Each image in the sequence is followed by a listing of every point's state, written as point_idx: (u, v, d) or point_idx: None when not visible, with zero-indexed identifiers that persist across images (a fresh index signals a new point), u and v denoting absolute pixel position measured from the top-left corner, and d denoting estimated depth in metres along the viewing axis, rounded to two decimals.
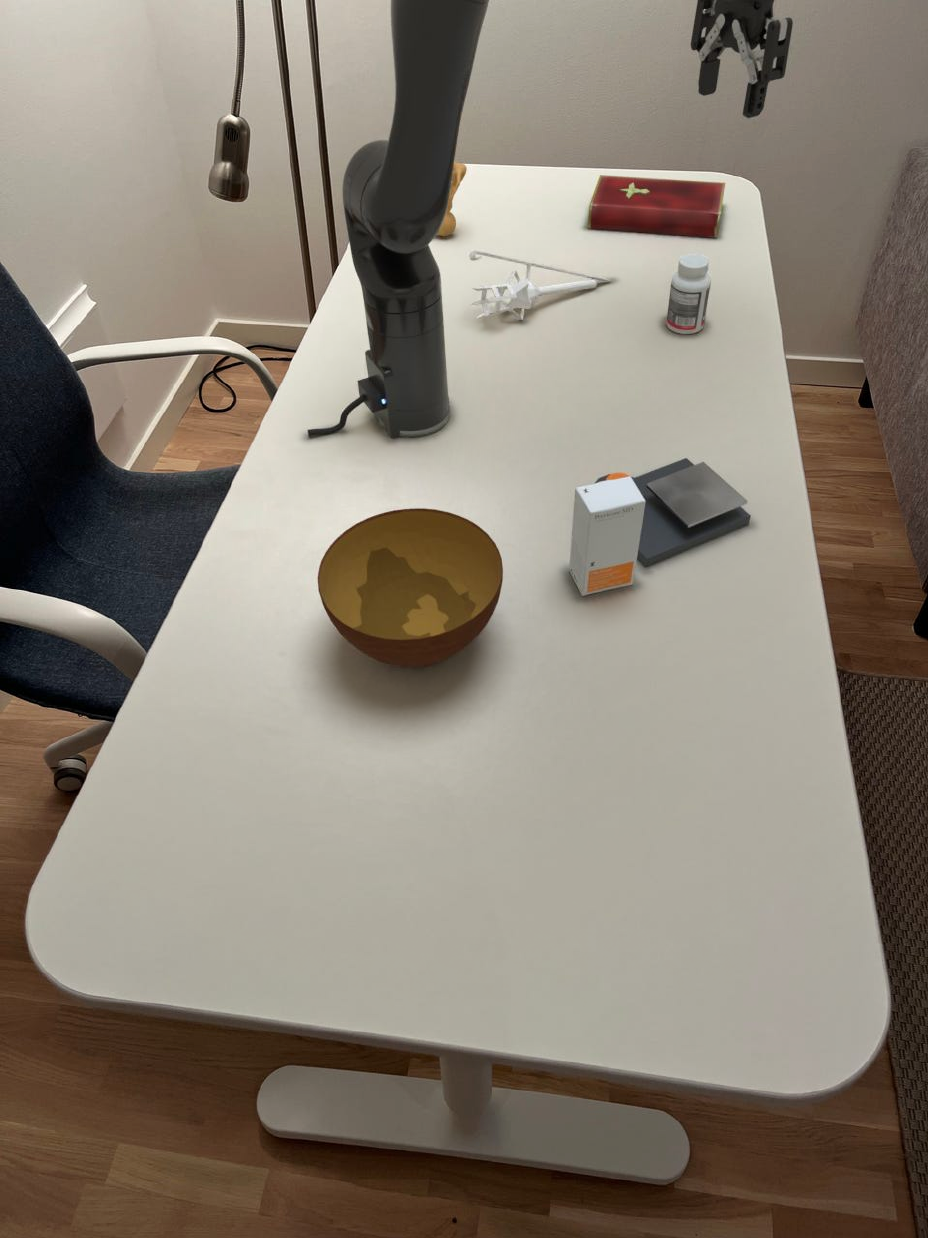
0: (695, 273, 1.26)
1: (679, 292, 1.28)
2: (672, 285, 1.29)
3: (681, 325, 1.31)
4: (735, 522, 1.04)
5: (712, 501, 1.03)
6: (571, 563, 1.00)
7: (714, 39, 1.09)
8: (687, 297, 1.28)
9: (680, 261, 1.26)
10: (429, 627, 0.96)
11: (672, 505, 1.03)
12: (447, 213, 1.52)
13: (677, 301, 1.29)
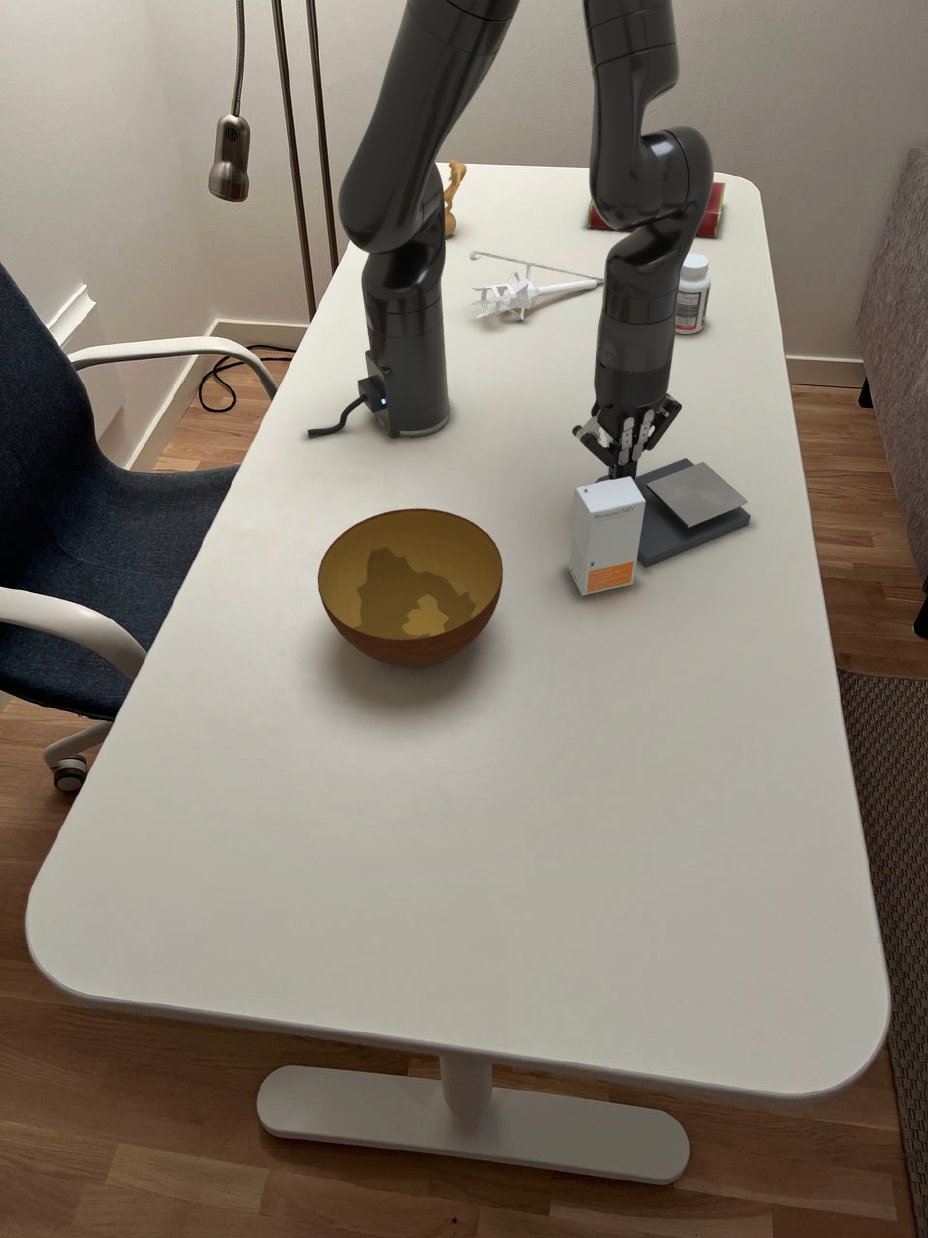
0: (695, 273, 1.26)
1: (679, 292, 1.28)
2: None
3: (681, 325, 1.31)
4: (735, 522, 1.04)
5: (712, 501, 1.03)
6: (571, 563, 1.00)
7: None
8: (687, 297, 1.28)
9: None
10: (429, 627, 0.96)
11: (672, 505, 1.03)
12: (447, 213, 1.52)
13: (677, 301, 1.29)
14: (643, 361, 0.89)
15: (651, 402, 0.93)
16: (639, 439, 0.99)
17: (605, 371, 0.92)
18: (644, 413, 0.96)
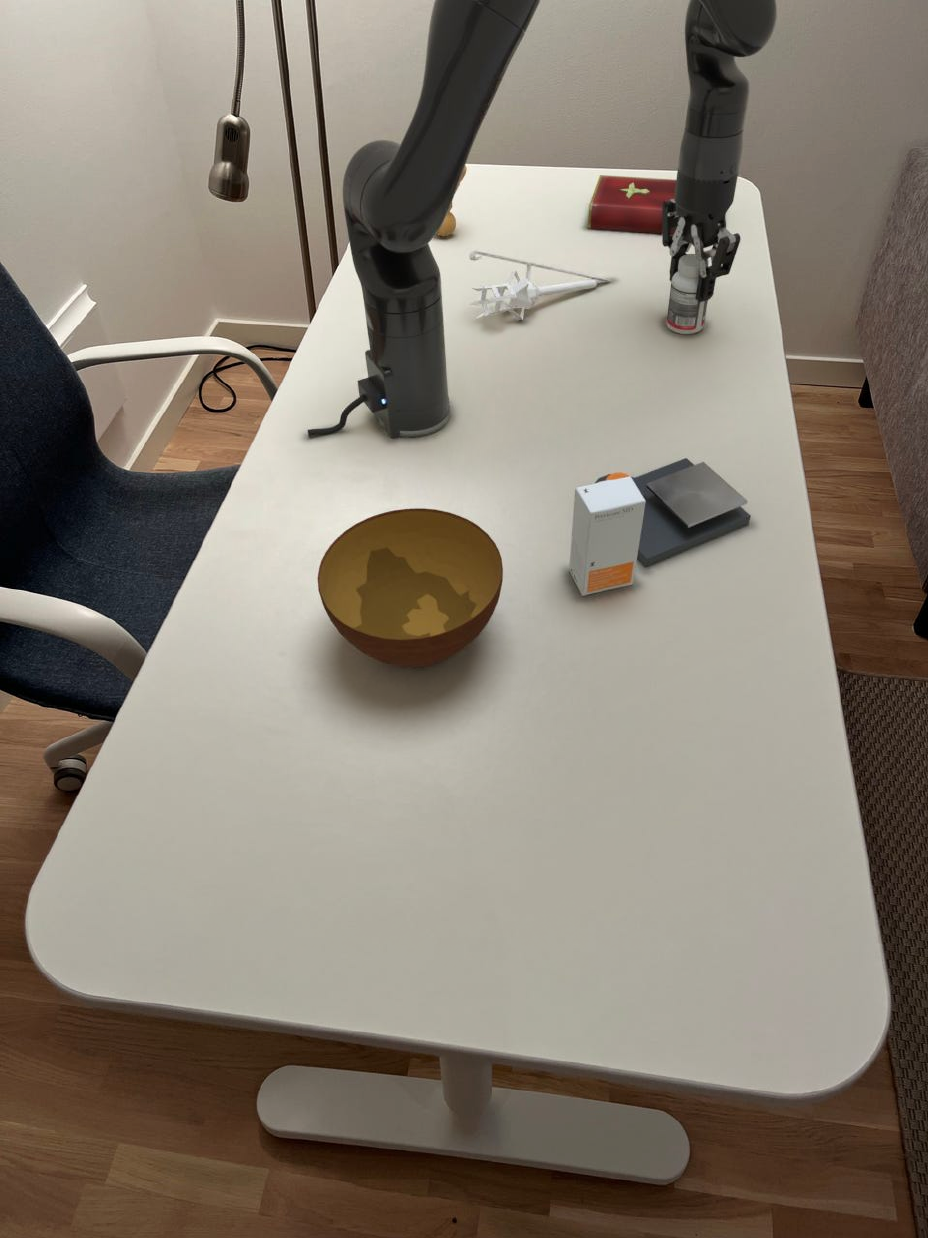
0: (695, 273, 1.26)
1: (679, 292, 1.28)
2: (672, 285, 1.29)
3: (681, 325, 1.31)
4: (735, 522, 1.04)
5: (712, 501, 1.03)
6: (571, 563, 1.00)
7: (679, 238, 1.25)
8: (687, 297, 1.28)
9: (680, 261, 1.26)
10: (429, 627, 0.96)
11: (672, 505, 1.03)
12: (447, 213, 1.52)
13: (677, 301, 1.29)
14: None
15: None
16: None
17: (729, 183, 1.16)
18: None
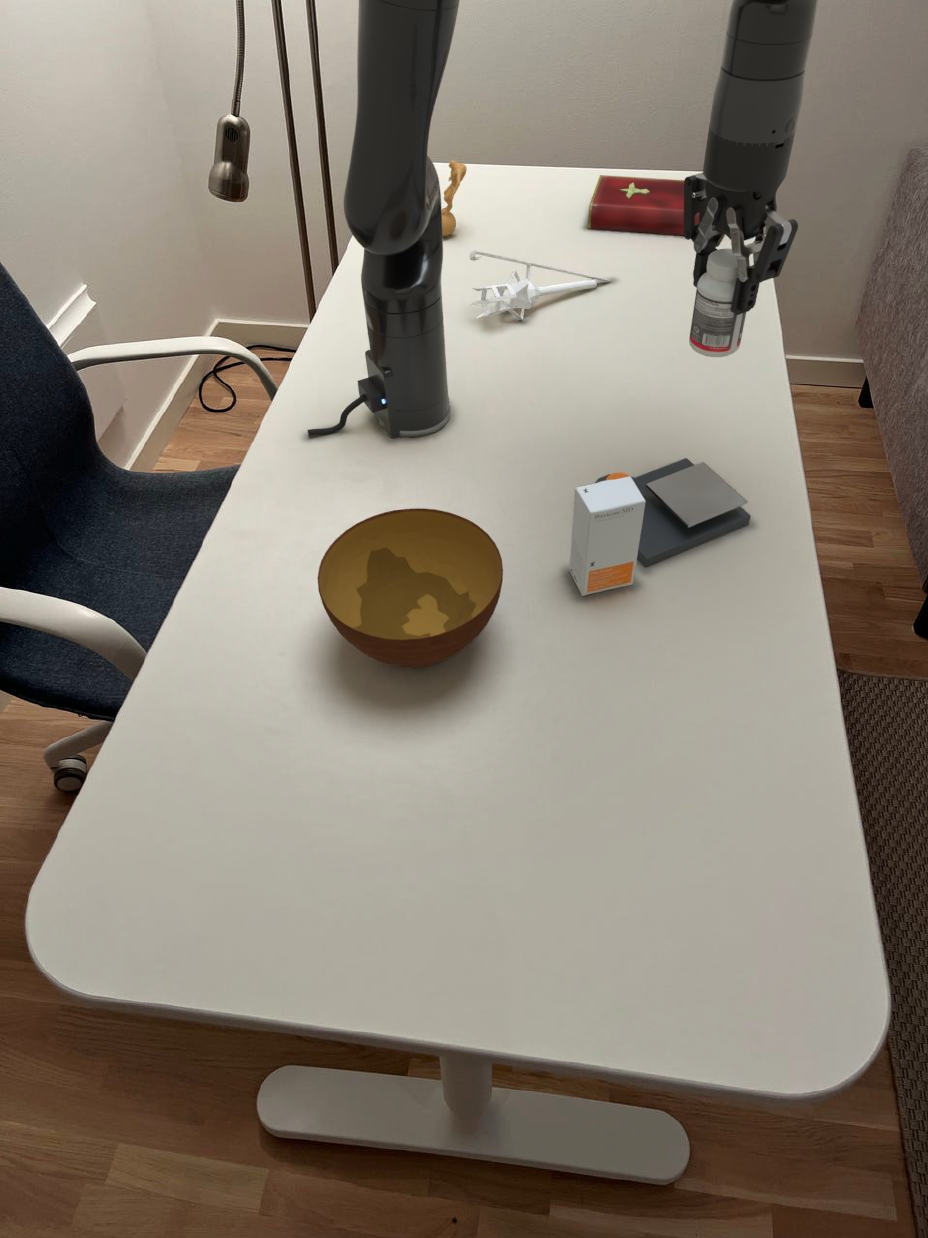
0: (732, 275, 0.91)
1: (708, 301, 0.94)
2: (698, 292, 0.94)
3: (710, 345, 0.97)
4: (735, 522, 1.04)
5: (712, 501, 1.03)
6: (571, 563, 1.00)
7: (709, 227, 0.90)
8: (720, 308, 0.93)
9: (710, 259, 0.92)
10: (429, 627, 0.96)
11: (672, 505, 1.03)
12: (447, 213, 1.52)
13: (706, 314, 0.95)
14: None
15: None
16: None
17: (783, 148, 0.82)
18: None
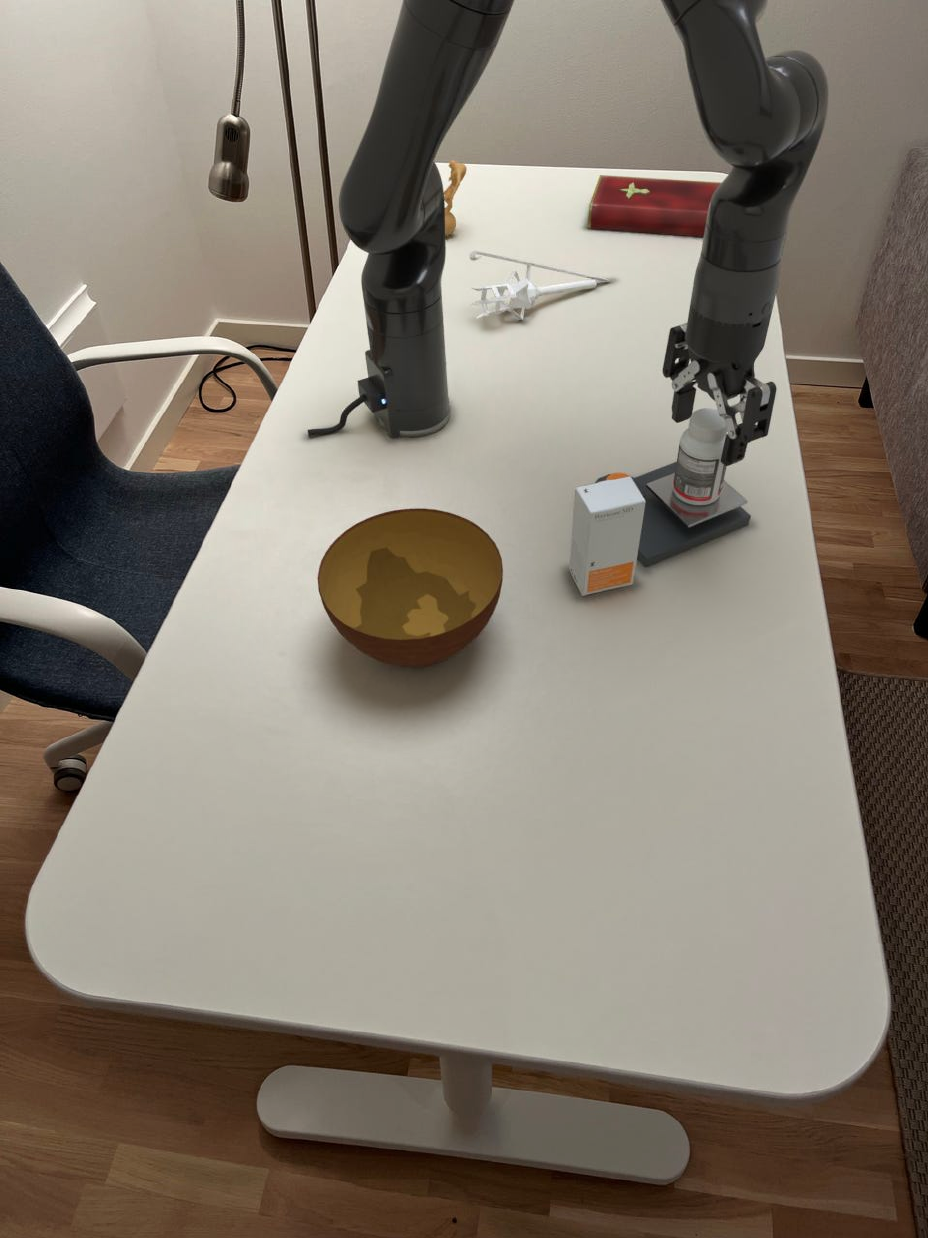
0: (712, 437, 0.96)
1: (689, 458, 0.98)
2: (681, 448, 0.99)
3: (692, 495, 1.01)
4: (735, 522, 1.04)
5: None
6: (571, 563, 1.00)
7: (688, 380, 0.95)
8: (701, 465, 0.98)
9: (691, 420, 0.97)
10: (429, 627, 0.96)
11: (672, 505, 1.03)
12: (447, 213, 1.52)
13: (687, 468, 0.99)
14: None
15: None
16: None
17: (760, 327, 0.86)
18: None
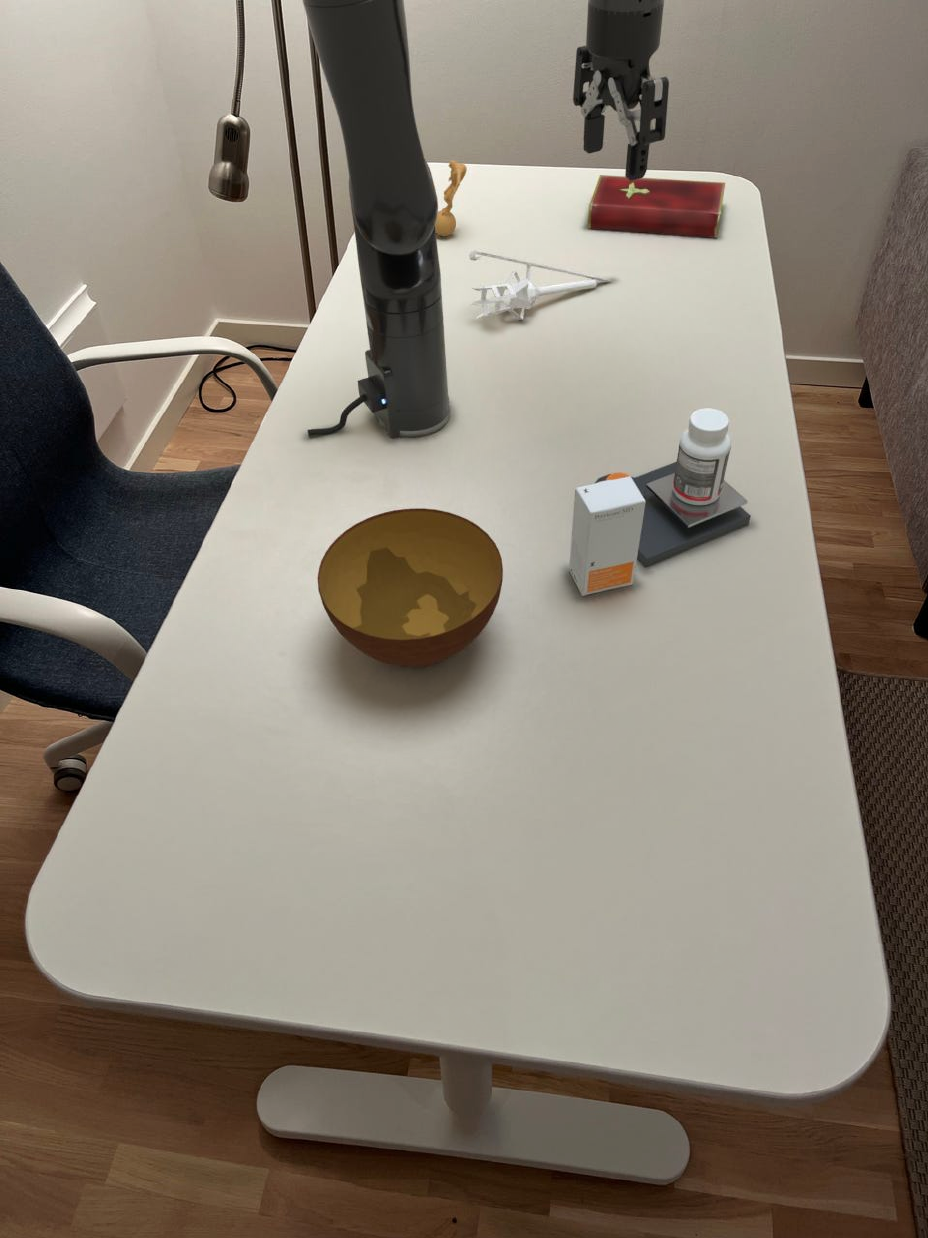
0: (712, 437, 0.96)
1: (689, 458, 0.98)
2: (681, 448, 0.99)
3: (692, 495, 1.01)
4: (735, 522, 1.04)
5: None
6: (571, 563, 1.00)
7: (593, 96, 1.01)
8: (701, 465, 0.98)
9: (691, 420, 0.97)
10: (429, 627, 0.96)
11: (672, 505, 1.03)
12: (447, 213, 1.52)
13: (687, 468, 0.99)
14: None
15: None
16: None
17: (650, 18, 0.91)
18: None
